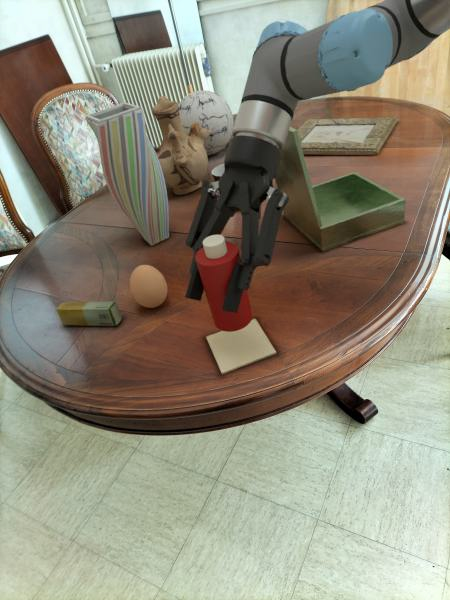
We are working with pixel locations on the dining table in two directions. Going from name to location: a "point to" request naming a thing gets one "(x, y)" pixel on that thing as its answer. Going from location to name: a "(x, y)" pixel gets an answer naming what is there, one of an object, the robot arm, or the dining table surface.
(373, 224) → the green square tray
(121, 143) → the vase
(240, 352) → the mat
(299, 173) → the lid
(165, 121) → the ceramic vessel
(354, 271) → the dining table surface
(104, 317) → the medication box
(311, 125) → the picture frame
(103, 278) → the dining table surface
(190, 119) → the decorative sphere
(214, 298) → the ketchup
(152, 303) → the egg
